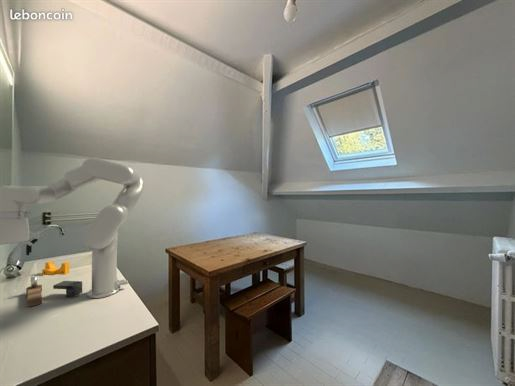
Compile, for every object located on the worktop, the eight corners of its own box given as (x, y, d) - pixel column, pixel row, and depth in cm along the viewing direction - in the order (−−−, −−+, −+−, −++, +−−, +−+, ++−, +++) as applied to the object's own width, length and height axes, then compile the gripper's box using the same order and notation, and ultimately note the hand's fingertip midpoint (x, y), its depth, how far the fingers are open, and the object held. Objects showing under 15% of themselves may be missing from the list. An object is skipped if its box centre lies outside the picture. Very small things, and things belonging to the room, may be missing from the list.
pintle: (37, 284, 101) (37, 276, 101) (36, 286, 99) (36, 277, 99) (31, 286, 100) (31, 277, 100) (30, 287, 98) (30, 278, 98)
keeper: (53, 296, 96) (53, 285, 96) (64, 291, 101) (64, 280, 101) (72, 297, 96) (72, 286, 96) (82, 292, 101) (82, 281, 101)
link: (26, 292, 100) (26, 286, 100) (41, 288, 103) (41, 283, 103) (25, 307, 87) (25, 301, 87) (43, 302, 90) (43, 296, 90)
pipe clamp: (42, 275, 121) (42, 263, 121) (50, 272, 125) (50, 261, 125) (61, 276, 120) (61, 264, 120) (69, 273, 124) (69, 261, 124)
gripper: (40, 213, 99) (38, 251, 99) (-22, 216, 86) (-24, 259, 86) (42, 215, 94) (41, 254, 94) (-22, 218, 81) (-24, 264, 81)
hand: (10, 257), depth 90 cm, fingers open, 9 cm apart
